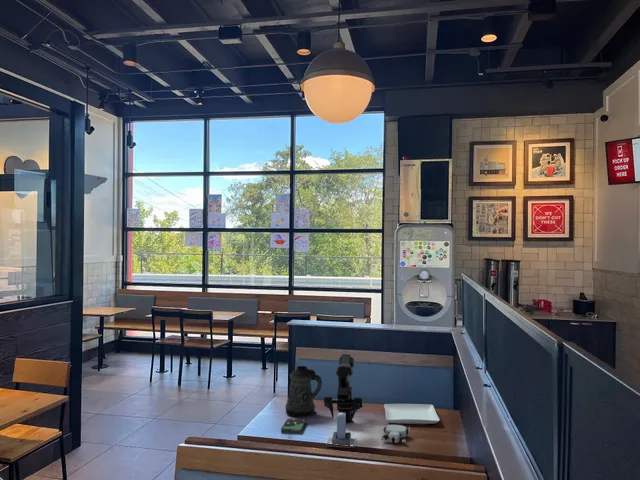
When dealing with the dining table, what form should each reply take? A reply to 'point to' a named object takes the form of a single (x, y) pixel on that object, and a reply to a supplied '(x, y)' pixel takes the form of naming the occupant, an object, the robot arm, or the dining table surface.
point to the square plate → (411, 414)
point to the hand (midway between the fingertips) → (342, 418)
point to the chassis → (342, 440)
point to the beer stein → (302, 392)
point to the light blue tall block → (341, 425)
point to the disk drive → (294, 426)
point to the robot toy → (395, 433)
